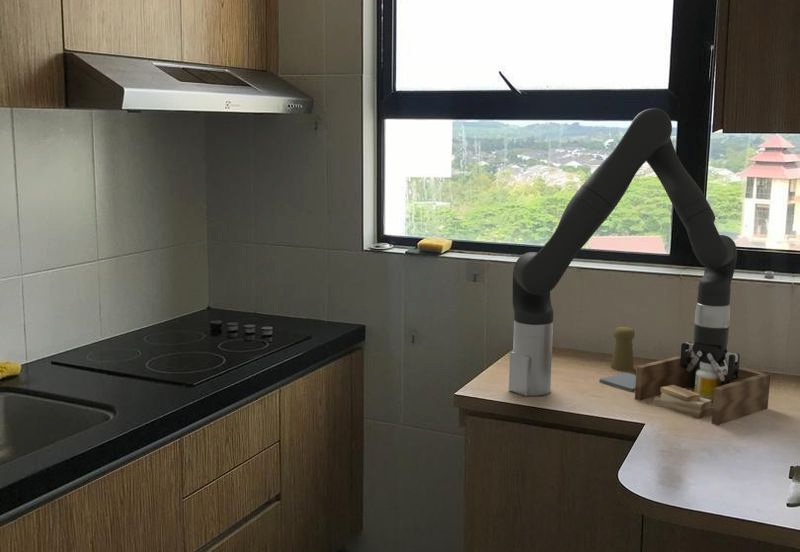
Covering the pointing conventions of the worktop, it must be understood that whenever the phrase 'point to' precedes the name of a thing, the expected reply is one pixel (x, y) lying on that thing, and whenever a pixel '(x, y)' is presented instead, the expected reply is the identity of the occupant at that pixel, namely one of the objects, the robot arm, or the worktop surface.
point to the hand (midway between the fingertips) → (706, 391)
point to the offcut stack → (683, 401)
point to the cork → (623, 349)
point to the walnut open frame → (728, 399)
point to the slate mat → (621, 381)
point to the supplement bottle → (706, 381)
